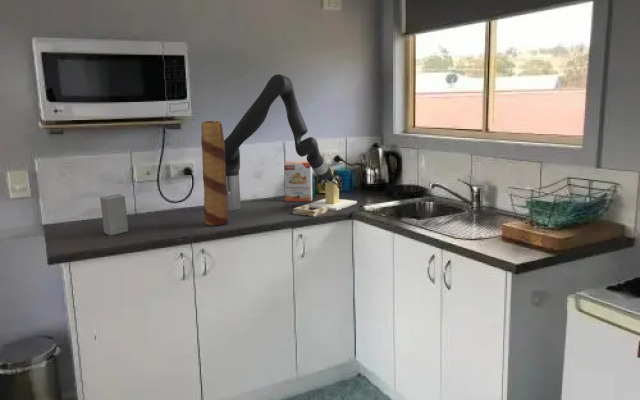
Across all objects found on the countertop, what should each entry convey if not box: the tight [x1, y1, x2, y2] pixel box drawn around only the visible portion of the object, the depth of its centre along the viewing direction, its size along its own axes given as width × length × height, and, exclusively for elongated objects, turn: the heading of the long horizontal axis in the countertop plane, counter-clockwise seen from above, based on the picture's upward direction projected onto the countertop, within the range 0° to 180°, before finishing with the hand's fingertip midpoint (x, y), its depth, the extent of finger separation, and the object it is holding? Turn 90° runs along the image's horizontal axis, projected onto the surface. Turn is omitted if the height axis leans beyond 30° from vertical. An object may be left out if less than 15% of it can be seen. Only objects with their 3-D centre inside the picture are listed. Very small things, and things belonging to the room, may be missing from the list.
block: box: [324, 179, 340, 204], centre depth 262 cm, size 5×5×12 cm
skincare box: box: [99, 193, 129, 236], centre depth 215 cm, size 8×7×16 cm
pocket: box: [292, 203, 328, 217], centre depth 246 cm, size 12×12×2 cm
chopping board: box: [308, 198, 358, 211], centre depth 263 cm, size 20×18×1 cm
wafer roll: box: [200, 120, 229, 226], centre depth 225 cm, size 10×11×45 cm
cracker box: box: [284, 161, 313, 203], centre depth 274 cm, size 14×6×21 cm, turn 84°
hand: (333, 188), depth 262 cm, fingers open, 8 cm apart
